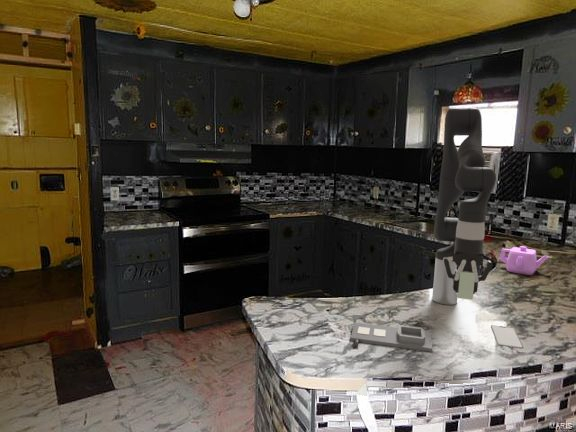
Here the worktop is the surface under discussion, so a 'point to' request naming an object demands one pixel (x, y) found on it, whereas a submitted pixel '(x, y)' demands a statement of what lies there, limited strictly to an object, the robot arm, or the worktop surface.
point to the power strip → (392, 336)
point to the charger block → (466, 284)
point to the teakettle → (521, 260)
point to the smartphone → (506, 336)
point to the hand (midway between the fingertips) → (464, 292)
